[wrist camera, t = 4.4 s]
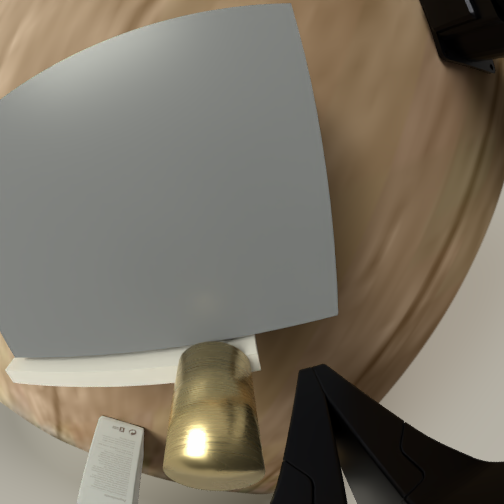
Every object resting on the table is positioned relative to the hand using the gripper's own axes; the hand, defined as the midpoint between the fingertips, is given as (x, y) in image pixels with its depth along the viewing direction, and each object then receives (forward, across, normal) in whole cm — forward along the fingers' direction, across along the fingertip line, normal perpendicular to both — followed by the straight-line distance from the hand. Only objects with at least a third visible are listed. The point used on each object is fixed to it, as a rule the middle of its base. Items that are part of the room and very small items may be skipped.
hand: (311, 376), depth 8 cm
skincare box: (+8, +16, +14) cm, 23 cm away
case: (+8, +6, -6) cm, 11 cm away
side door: (+8, +7, 0) cm, 11 cm away
